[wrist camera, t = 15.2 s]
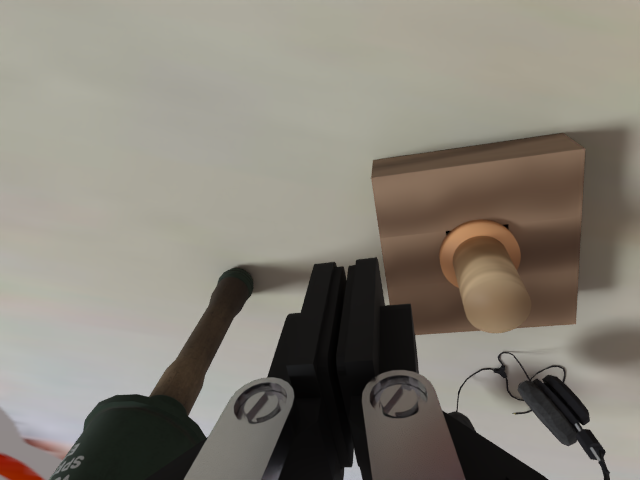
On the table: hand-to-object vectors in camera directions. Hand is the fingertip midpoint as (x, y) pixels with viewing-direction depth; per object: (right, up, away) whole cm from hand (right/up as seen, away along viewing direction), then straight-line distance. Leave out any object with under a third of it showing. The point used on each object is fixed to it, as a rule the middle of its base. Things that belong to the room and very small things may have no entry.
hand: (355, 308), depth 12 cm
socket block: (+13, +3, +31) cm, 34 cm away
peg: (+13, +3, +31) cm, 34 cm away
